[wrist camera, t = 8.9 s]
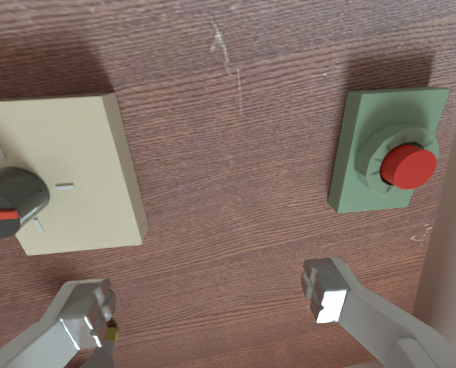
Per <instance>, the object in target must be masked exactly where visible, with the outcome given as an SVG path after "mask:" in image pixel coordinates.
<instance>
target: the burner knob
mask: <svg viewBox="0 0 456 368" xmlns="http://www.w3.org/2000/svg"><path fill="white" fill-rule="evenodd" d="M49 200H50V193H49V190H48V188H47V186H46V184H45V183H44V182H43V181H42V180H41V179H40V178H39V177H38V176H36V175H35V174H34V173H32V172H30V171H28V170H25V169H22V168H18V167H3V168H0V239H3V238H7V237H10V236H12V235H14V234H16V233H17V232H18V231H19V230H20V229H22V228H23V227H24V226H25V225H26V224H27V223H28V222H30V221H31V220H32V219H33V218H34V217H35V216H37V215H38V214H39V213H40V212H41V211H42V210H43V209H45V208H46V207H47V205H48V203H49Z"/></svg>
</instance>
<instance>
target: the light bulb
mask: <svg viewBox="0 0 456 368" xmlns="http://www.w3.org/2000/svg"><path fill="white" fill-rule="evenodd" d="M118 334H119V331H118V330H117V329H116V328H115V327H108V330H107V333H106V335H105V338H104V341H103V343H102V346H101V347H96V349H95V351H94V353H93V354H92V355H91V356H90V357H89V359H88V360H87V361H86V362H85V363H83V364H82V365H81V366H80V367H79V368H114V363H113V351H114V348H115V343H116V340H117V337H118Z"/></svg>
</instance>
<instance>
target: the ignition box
mask: <svg viewBox="0 0 456 368" xmlns="http://www.w3.org/2000/svg"><path fill="white" fill-rule="evenodd" d="M450 90H451V89H450V88H440V87H415V88H398V89H381V90H364V91H348V93H347V98H346V104H345V109H344V115H343V121H342V126H341V132H340V137H339V143H338V148H337V154H336V159H335V165H334V170H333V176H332V181H331V187H330V193H329V198H328V204H329V205H330V206H331V207H332V208H333V209H334V210H335V211H336V212H337V213H345V212H355V211H366V210H377V209H387V208H398V207H407V206H408V204H409V201H410V198H411V196H412V193H413V190H414V189H409V190H404V189H400V188H398V187H397V186H395V185H393V184H392V183H390V182H389V181H387V180H385V179H384V178H383V177H382V175H381V173H380V166H381V163H382V161H383V159H384V158H385V156H386V155H387V154H388V153H389V152H390V151H391V150H392V149H394V148H395V147H397V146H400V145H404V144H410V145H414V146H416V147H419V148H422V149H425V150H428V151H430V152H432V153H433V154H434V155H435V157H436V161H437V159H438V156H439V153H440V152H439V146H438V140H437V137H436V136H435V135H434V133H435V131H436V128H437V125H438V123H439V120H440V117H441V114H442V112H443V109H444V106H445V104H446V101H447V98H448V96H449V93H450Z"/></svg>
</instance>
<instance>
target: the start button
mask: <svg viewBox="0 0 456 368" xmlns="http://www.w3.org/2000/svg"><path fill="white" fill-rule="evenodd" d="M436 164H437V161H436V157H435V155H434V154H433V153H432V152H430V151H428V150H425V149H422V148H419V147H416V146H414V145H410V144H404V145H400V146H397V147H395V148H394V149H392V150H391V151H390V152H389V153H388V154H387V155H386V156H385V158H384V159H383V161H382V163H381V166H380V173H381V175H382V177H383V178H384V179H385V180H387V181H389V182H390V183H392V184H393V185H395V186H397V187H398V188H400V189H404V190H409V189H414V188H417V187H419V186H420V185H422V184H424V183H425V182H426V181H427V180H428V179H429V178H430V177H431V176H432V174H433V172H434V171H435V168H436Z"/></svg>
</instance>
